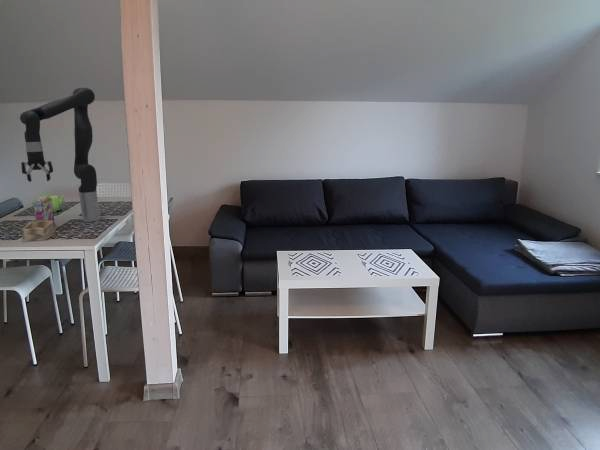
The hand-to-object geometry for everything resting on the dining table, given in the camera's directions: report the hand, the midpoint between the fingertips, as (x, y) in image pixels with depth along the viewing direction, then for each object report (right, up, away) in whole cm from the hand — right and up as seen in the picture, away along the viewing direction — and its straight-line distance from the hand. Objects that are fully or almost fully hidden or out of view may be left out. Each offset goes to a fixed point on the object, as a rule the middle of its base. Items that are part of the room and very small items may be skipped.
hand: (39, 181), depth 237 cm
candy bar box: (0, -26, +7) cm, 27 cm away
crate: (+5, -29, -8) cm, 31 cm away
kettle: (-20, -15, +47) cm, 54 cm away
